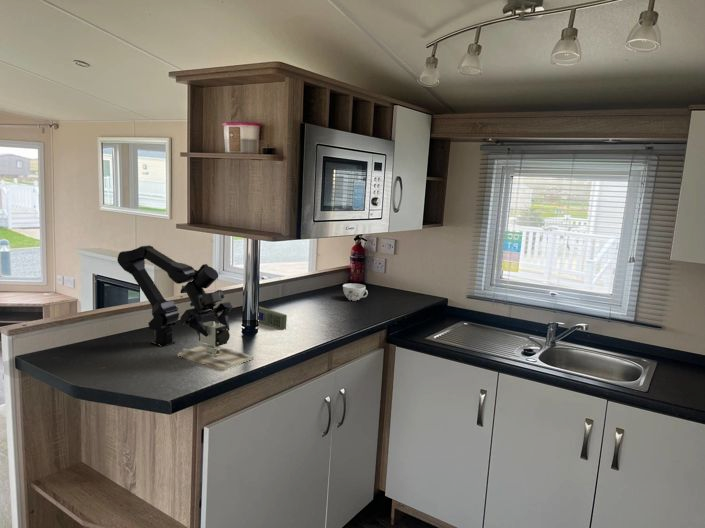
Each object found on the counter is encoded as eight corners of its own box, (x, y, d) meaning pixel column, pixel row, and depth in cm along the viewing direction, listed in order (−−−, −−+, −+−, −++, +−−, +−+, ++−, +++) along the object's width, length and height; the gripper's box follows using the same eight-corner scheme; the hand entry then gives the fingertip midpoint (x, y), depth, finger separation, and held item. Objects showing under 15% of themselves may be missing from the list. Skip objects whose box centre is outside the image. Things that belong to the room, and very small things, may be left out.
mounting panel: (177, 356, 175) (177, 350, 175) (208, 346, 187) (208, 341, 187) (224, 370, 164) (224, 364, 164) (253, 359, 176) (253, 353, 176)
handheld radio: (281, 331, 213) (244, 318, 229) (287, 329, 215) (250, 317, 231) (282, 315, 212) (245, 303, 228) (288, 314, 215) (251, 303, 231)
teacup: (337, 299, 276) (338, 285, 275) (350, 296, 287) (351, 282, 285) (360, 304, 268) (361, 289, 267) (372, 300, 278) (373, 286, 277)
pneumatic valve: (219, 361, 169) (219, 326, 168) (196, 353, 176) (196, 319, 174) (231, 357, 174) (232, 323, 172) (208, 349, 180) (209, 316, 179)
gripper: (185, 286, 167) (207, 325, 162) (229, 279, 182) (250, 315, 177) (171, 305, 172) (191, 343, 168) (214, 297, 188) (234, 332, 183)
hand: (218, 333), depth 174 cm, fingers open, 9 cm apart
